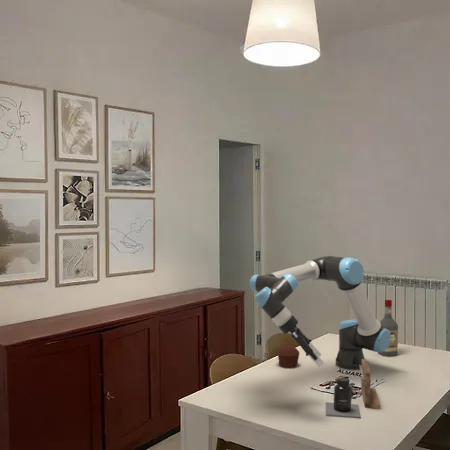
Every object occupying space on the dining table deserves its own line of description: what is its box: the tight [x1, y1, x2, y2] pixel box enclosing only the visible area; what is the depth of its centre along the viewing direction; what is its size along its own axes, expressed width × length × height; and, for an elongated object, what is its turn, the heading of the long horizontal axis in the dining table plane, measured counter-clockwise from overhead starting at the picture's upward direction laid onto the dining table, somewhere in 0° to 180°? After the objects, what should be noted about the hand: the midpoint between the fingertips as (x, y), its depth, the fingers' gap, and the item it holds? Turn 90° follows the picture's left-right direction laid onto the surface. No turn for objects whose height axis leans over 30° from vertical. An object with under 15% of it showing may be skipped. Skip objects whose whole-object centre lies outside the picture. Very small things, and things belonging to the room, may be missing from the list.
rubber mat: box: [325, 401, 362, 419], centre depth 211 cm, size 13×13×1 cm
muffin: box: [276, 345, 300, 369], centre depth 271 cm, size 12×11×10 cm
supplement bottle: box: [333, 377, 353, 412], centre depth 211 cm, size 7×7×12 cm
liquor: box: [377, 299, 399, 358], centre depth 293 cm, size 9×9×30 cm
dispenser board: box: [359, 358, 381, 409], centre depth 224 cm, size 7×20×14 cm, turn 170°
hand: (320, 360), depth 214 cm, fingers open, 13 cm apart
